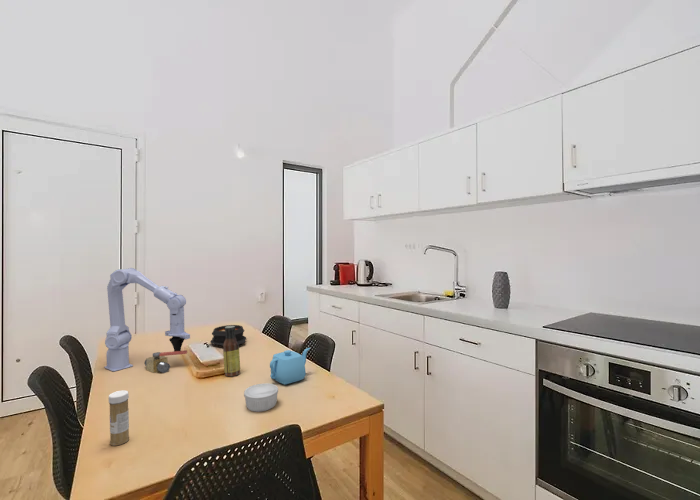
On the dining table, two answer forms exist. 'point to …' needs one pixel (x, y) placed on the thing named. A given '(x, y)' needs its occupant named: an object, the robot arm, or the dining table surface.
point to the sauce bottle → (231, 353)
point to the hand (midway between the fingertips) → (177, 353)
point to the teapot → (288, 366)
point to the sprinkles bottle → (119, 417)
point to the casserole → (220, 335)
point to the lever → (169, 353)
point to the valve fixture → (157, 364)
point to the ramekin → (261, 397)
